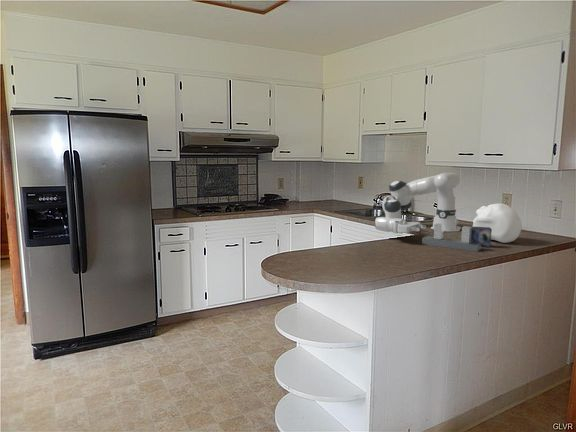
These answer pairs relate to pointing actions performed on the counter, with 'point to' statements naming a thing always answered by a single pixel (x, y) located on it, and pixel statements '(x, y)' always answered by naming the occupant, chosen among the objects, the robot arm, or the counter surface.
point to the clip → (438, 231)
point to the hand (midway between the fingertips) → (422, 228)
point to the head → (499, 222)
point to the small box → (481, 235)
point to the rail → (455, 241)
